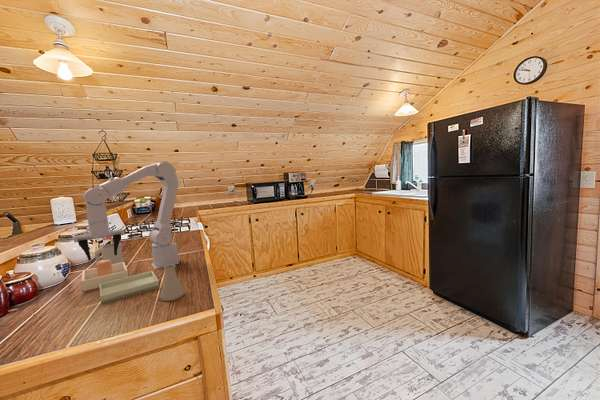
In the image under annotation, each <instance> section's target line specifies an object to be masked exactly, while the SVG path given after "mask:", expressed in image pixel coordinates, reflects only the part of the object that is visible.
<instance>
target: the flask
mask: <svg viewBox="0 0 600 400" xmlns="http://www.w3.org/2000/svg"><path fill="white" fill-rule="evenodd" d="M176 265H177V264H175V265H167V266H165V267H163V270H164V272H165V273H164V281H163V285H162V288H161V291H160V294H159V300H161V301H163V302H171V301H172V302H173V301H175V300H178V299H179V298H182V297H183V296H184V295H185V294H186V290H185V289H184V286H183V285H182V284H181V281H180V280H179V277H178V275H177V273H176Z"/></svg>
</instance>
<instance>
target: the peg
mask: <svg viewBox="0 0 600 400" xmlns="http://www.w3.org/2000/svg"><path fill="white" fill-rule="evenodd" d="M101 260H102V259H101ZM95 265H96V268H97V273H98V277H101V276H105V275H109V274H113V272H112V264H111V260H102V261H99V262H97V261H96V264H95Z"/></svg>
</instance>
